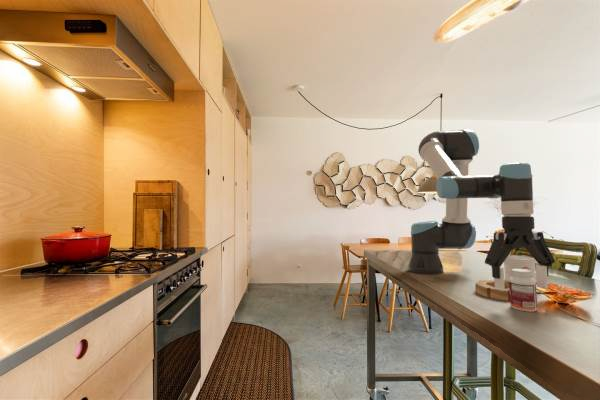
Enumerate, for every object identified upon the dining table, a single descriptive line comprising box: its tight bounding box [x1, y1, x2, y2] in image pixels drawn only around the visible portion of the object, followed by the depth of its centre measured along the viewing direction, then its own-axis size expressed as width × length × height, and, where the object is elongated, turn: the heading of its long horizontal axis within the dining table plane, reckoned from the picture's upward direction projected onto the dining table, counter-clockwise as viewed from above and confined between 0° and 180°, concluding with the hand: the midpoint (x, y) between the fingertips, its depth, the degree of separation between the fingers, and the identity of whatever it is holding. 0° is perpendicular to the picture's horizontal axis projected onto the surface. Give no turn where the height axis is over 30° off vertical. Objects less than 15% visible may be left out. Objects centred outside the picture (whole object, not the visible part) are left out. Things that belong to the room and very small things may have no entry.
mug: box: [503, 255, 537, 282], centre depth 103 cm, size 12×9×11 cm
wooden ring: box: [474, 279, 510, 302], centre depth 95 cm, size 14×14×3 cm
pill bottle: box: [509, 269, 538, 313], centre depth 82 cm, size 6×6×11 cm
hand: (521, 289), depth 82 cm, fingers open, 13 cm apart
